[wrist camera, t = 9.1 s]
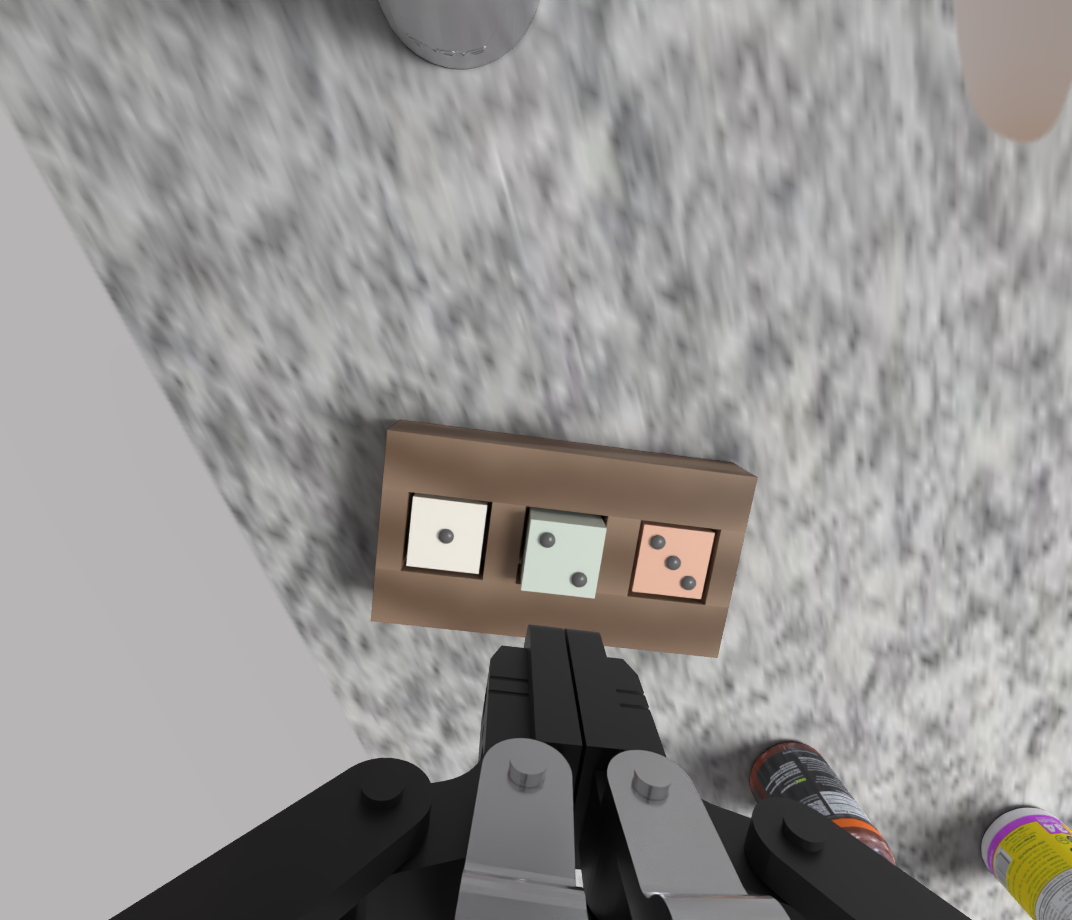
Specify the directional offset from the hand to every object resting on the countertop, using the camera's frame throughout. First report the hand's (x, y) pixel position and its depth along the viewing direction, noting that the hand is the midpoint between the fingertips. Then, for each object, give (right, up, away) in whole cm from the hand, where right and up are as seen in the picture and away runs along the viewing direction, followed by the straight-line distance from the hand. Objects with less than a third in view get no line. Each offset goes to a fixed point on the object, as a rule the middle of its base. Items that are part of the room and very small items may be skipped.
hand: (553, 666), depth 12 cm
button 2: (+1, -1, +25) cm, 25 cm away
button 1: (-6, 0, +26) cm, 27 cm away
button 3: (+8, -1, +27) cm, 28 cm away
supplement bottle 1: (+19, -19, +33) cm, 42 cm away
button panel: (+1, 0, +27) cm, 28 cm away
